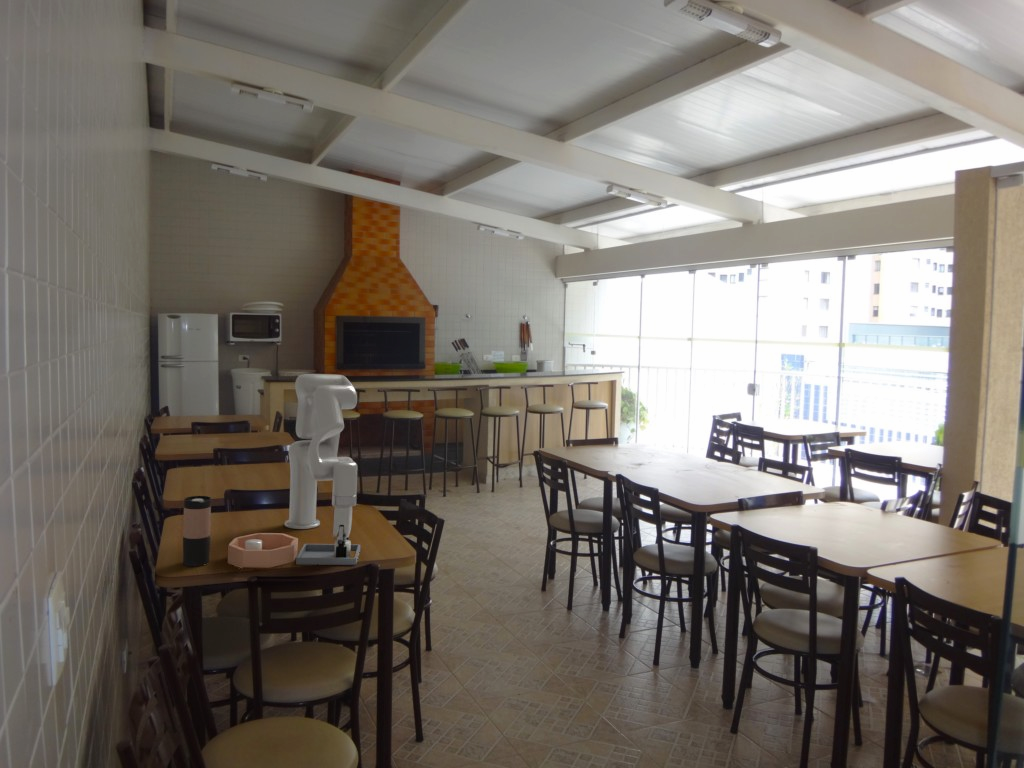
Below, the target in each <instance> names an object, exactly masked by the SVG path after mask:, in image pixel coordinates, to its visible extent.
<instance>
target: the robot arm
mask: <svg viewBox="0 0 1024 768" xmlns="http://www.w3.org/2000/svg"><path fill="white" fill-rule="evenodd" d="M294 388H295V393H296V396H297V397H296V398H297V412H296V421H295V433H296V436H297V437H298V438H299V439H303V440H298V441H297V440H296V441H294V442H292V443H291V444H290V445H289V447H288V459H289V470H290V478H289V479H290V483H289V514H288V515H289V517H288V519H287V520H285V521H284V526H285V527H286V528H289V529H294V530H309V529H314V528H317V527H319V526H320V525H321V521H320V520H319V519H317V518H316V517H317V496H318V495H317V493H318V492H317V489H318V487H317V486H318V482H323V481H324V482H326V481H327V482H329V481H332V488H331V489H332V493H331V494H332V496H331V505H332V506H333V507H334V512H333V525H332V526H333V528H332V538H334V539H335V538H336V537H337V538H336V541H337V546H336V558H346V553H347V546H346V540H350V534H351V530H352V524H353V523H352V522H353V507H355V506H357V496H358V494H357V490H358V489H357V488H358V464H357V463H356V462H355V461H354V460H353V458H351V457H349V456H338V451H339V444H340V437H341V436H340V435H341V432H342V431H344V429H345V423H344V416H343V410H353V409H354V408H356V406H357V404H358V395H357V391H356V388H355V386H354V385H353V384H352V382H351V381H350V380H349V379H348V378H347V377H346V376H345V375H343V374H331V373H329V374H327V373H325V374H323V373H305V374H304V373H303V374H300V375H298V376H297V378H296V379H295V384H294ZM304 439H305V440H304Z"/></svg>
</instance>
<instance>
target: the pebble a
mask: <svg viewBox="0 0 1024 768" xmlns="http://www.w3.org/2000/svg"><path fill="white" fill-rule="evenodd" d="M245 549H246V550H262V540H259V539H251V540H247V541H245Z"/></svg>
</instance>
